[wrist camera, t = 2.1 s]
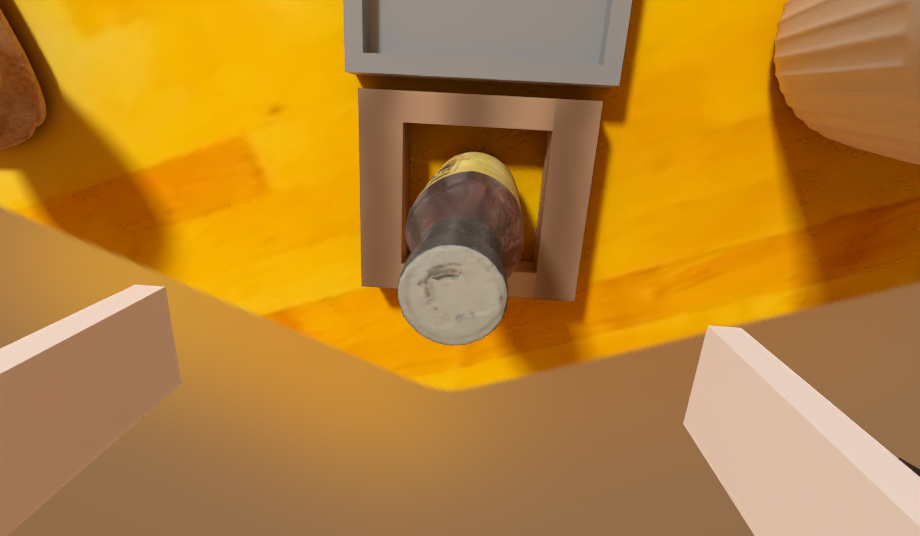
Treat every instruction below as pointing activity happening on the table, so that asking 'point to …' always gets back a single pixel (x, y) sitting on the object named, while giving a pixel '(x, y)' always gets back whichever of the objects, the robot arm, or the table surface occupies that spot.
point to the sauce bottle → (462, 250)
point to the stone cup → (17, 91)
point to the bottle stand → (562, 119)
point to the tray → (489, 40)
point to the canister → (854, 72)
